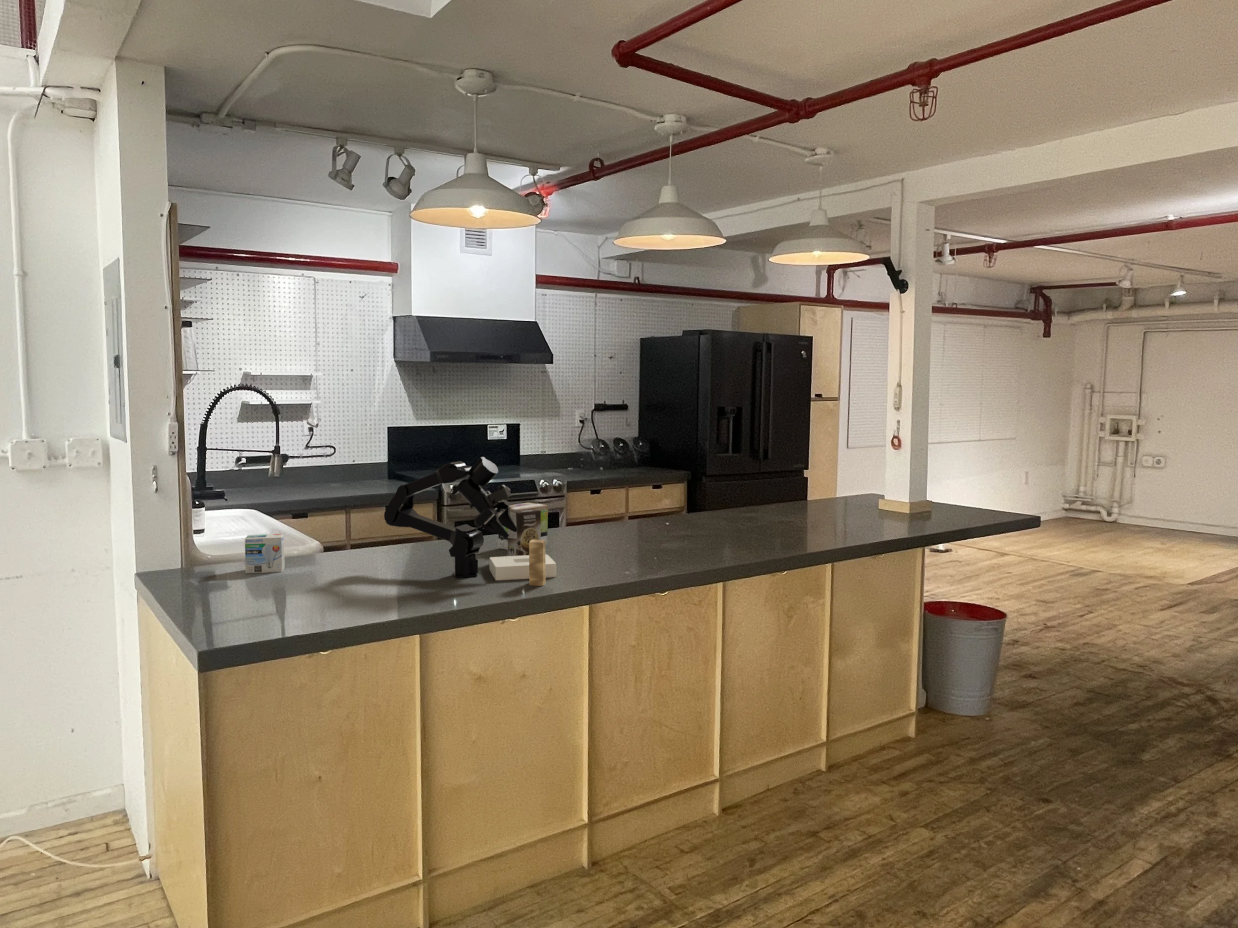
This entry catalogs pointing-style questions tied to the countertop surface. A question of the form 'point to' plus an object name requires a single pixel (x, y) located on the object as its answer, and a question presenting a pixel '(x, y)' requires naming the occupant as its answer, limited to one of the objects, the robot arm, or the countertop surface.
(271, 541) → the light bulb box
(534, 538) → the coffee box
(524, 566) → the white flat block
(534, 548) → the tan wooden block
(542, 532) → the tea box
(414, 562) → the countertop surface
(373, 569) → the countertop surface
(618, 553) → the countertop surface
